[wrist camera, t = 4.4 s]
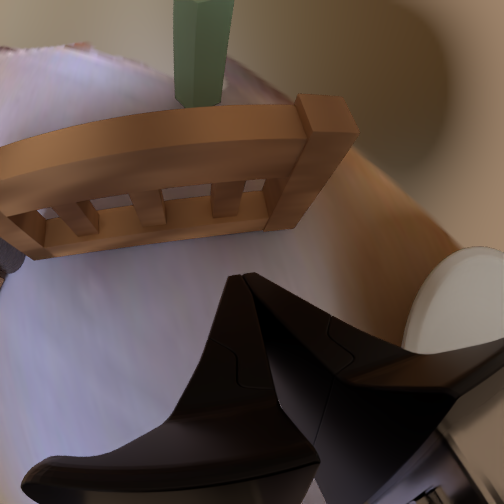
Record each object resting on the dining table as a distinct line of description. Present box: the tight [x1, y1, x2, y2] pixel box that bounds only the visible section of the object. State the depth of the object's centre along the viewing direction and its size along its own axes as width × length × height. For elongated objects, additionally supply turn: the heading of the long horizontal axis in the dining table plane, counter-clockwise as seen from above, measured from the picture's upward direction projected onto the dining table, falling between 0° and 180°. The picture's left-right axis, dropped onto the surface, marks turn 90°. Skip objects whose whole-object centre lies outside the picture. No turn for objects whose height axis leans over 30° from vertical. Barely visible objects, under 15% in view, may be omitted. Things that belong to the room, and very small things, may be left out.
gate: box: [0, 94, 360, 260], centre depth 12 cm, size 15×2×8 cm, turn 101°
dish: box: [401, 246, 504, 354], centre depth 14 cm, size 18×14×5 cm
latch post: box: [173, 0, 234, 108], centre depth 16 cm, size 2×2×9 cm
